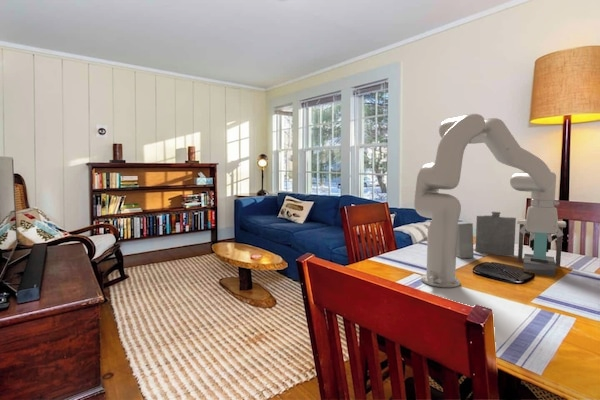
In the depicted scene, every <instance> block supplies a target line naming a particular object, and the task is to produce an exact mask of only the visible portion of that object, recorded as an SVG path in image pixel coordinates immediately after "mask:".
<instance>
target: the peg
mask: <svg viewBox="0 0 600 400" xmlns="http://www.w3.org/2000/svg"><path fill="white" fill-rule="evenodd" d="M533 238H534V250H533V253H532V254H533V258H541V259H546V256H547V252H546V248H547V239H548V236H547V233H537V232H535V234H534V237H533Z"/></svg>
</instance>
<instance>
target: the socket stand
mask: <svg viewBox="0 0 600 400" xmlns="http://www.w3.org/2000/svg"><path fill="white" fill-rule="evenodd" d="M516 223H517V225H519V231H518V232H519V234H518V251H517V252H518V253H517V262H518V263H523V266H522V267H523V269H525V270H529V271H531V272H534V273H535V274H534V275H539V276H547V277H553V278H554V277H555V278H556V270H557V268H561V261H562V259H561V258H562V257H561V256H562V246H563V245H562V243H563V236H560V237H558V238H556V248H555V257H554V256H549V255H546V259H541V258H533V253H532V254H531V253H524V254H523V249H524V248H523V247H524V234H523V233H521V232H520V229H521V228H522V227H523V226H524V225H525V224H526V218H517V220H516ZM558 227H559V228H560V230H561V231H562V232H563V229H564V228H566V227H567V222H566V221H562V220H561V221H560V220H558ZM557 233H558V232H557ZM557 233H556V234H557ZM523 255H524V256H523ZM523 269H522V270H523Z"/></svg>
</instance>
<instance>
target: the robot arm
mask: <svg viewBox="0 0 600 400" xmlns="http://www.w3.org/2000/svg"><path fill="white" fill-rule="evenodd" d="M438 133H439V136H440V137H441V139H440V141H439V143H438V147H437V150H436V156H435V160H434V162H429V163H425V164H424V165H423V166H422V167H421V168H420V169H419V172H418V173H417V177H416V183H415V185H416V186H415V193H414V203H413V204H414V205H413V206H414V210H415V212H416V213H417V214H418V215H419V216H420V217H423V218H427V219H431V221H430V224H429V226H428V228H427V235H426V236H427V237H426V238H427V239H426V246H427V247H426V274H423V275H422V276H421V280H422V282H423V283H425V284H427V285H429V286H431V287H437V288H444V289H446V288H449V289H450V288H456V287H459V286H460V285H461V280H460V279H459V278H458V277H456V269H457V268H456V267H457V256H456V244H457V226H458V222H459V219H460V216H461V212H462V205H461V202H460V200H459V199H458V198H457V197H456V196H454V195H453V194H450V193H442V192H439V191H440V190H443V191H444V190H447V191H448V190H450V191H451V190H453V189H456V188H457V187H458V186H459V185H460V184H459V183H460V180H461V172H462V166H463V160H464V159H463V158H464V155H465V154H464V153H465V150H466V149H467V148H466V147H467V146H468V144H472V145H473V144H485V145H486V147H487V148H488V150H489V151H490V152H491V154H492V155H493V156H494V157H495V159H496V161H498V162H499V163H501V164H503V165H506V166H508V167H512V168H515V169H518V170H520V171H518V172H516V173H514V174H513V175H512V176H511V177H510V179H509V182H510V183H509V184H510V187H511V188H512V189H514V190H516V191H518V192H525V193H526V192H527V193H528V192H529V193H530V206H528V207H527V210H526V215H525V217H526V218H525V219H526V224H524V226H523V227H522V228H521V229H520V228H519V229H520V232H521V233H523V236H525V237H526V238H528V240H529V248H530V249H531V251H534V234H535V232H537V233H547V248H546V253H549V251H551V250H552V249H551V248H552V247H551V246H552V242H553V241H555V240H557V238H558V237H560V236H562V237H563V236H564V233H563V230H562V231H561V230H560V228H559V227H558V221H559V217H558V216H559V215H558V209H557V207H555V206H560V201H557V200H556V190H557V189H556V188H557V186H556V185H557V174H556V173H555V172H553V171H551V169H550V168H549V166H548V164H547V163H546V162H545V161H544V160H542V159H541V158H540V157H539V156H537V155H535V154H533V153H531V151H529V150H526V149H525V148H523V147H521V145H520V144H519V143H518V141H517V140H516V138H515V137H514V135H513V134H512V133H511V131H510V130H509V128H508V127H507V125H506V124H505V122H504V121H503V120H502V119H500V118H498V117H496V118H495V117H493V118H484V116H482V115H481V114H478V113H469V114H463V115H459V116H456V117H450V118H447V119H445V120H444V121H442V122H441V124H440V125H439V129H438ZM557 232H558V233H557Z"/></svg>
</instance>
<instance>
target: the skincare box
mask: <svg viewBox="0 0 600 400" xmlns="http://www.w3.org/2000/svg"><path fill="white" fill-rule="evenodd" d="M473 225H474V224H473V223H472V222H468V221H465V220H464V221H463V220H462V221H458V226H457V244H456V258H460V259H464V258H465V259H474V258H475V257H474V232H473V230H474V227H473Z"/></svg>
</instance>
